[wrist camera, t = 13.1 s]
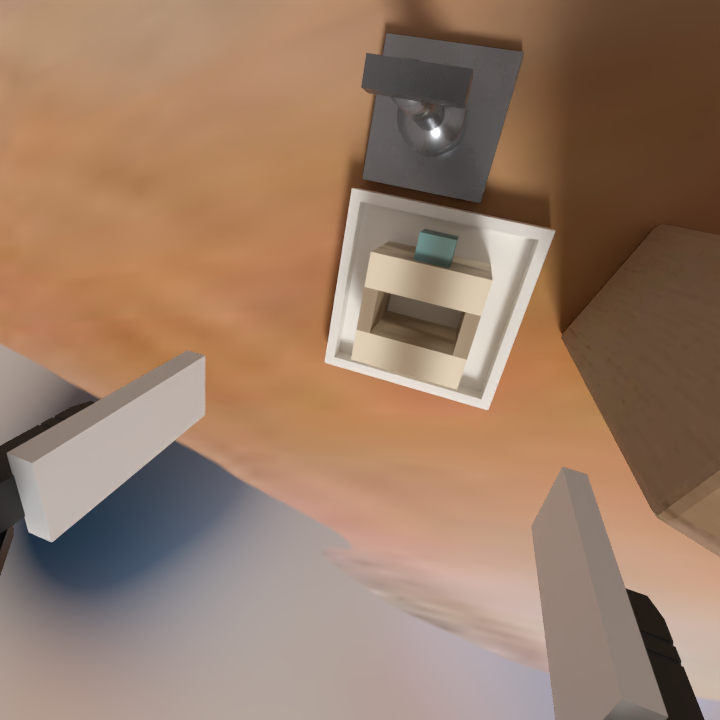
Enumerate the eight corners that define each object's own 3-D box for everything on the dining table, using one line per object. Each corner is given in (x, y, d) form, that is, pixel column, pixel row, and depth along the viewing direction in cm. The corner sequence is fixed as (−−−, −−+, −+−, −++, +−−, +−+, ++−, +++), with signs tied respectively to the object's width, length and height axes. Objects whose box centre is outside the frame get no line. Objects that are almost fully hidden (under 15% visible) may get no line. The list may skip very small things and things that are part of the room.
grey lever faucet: (388, 36, 28) (315, -82, 15) (523, 55, 26) (558, -59, 14) (365, 179, 31) (291, 174, 19) (480, 202, 30) (479, 213, 18)
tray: (359, 188, 32) (351, 188, 30) (550, 227, 29) (555, 230, 27) (332, 353, 38) (324, 362, 36) (487, 398, 36) (488, 410, 34)
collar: (370, 333, 35) (350, 359, 30) (394, 217, 31) (376, 223, 26) (461, 358, 34) (457, 389, 29) (498, 240, 30) (501, 251, 24)
